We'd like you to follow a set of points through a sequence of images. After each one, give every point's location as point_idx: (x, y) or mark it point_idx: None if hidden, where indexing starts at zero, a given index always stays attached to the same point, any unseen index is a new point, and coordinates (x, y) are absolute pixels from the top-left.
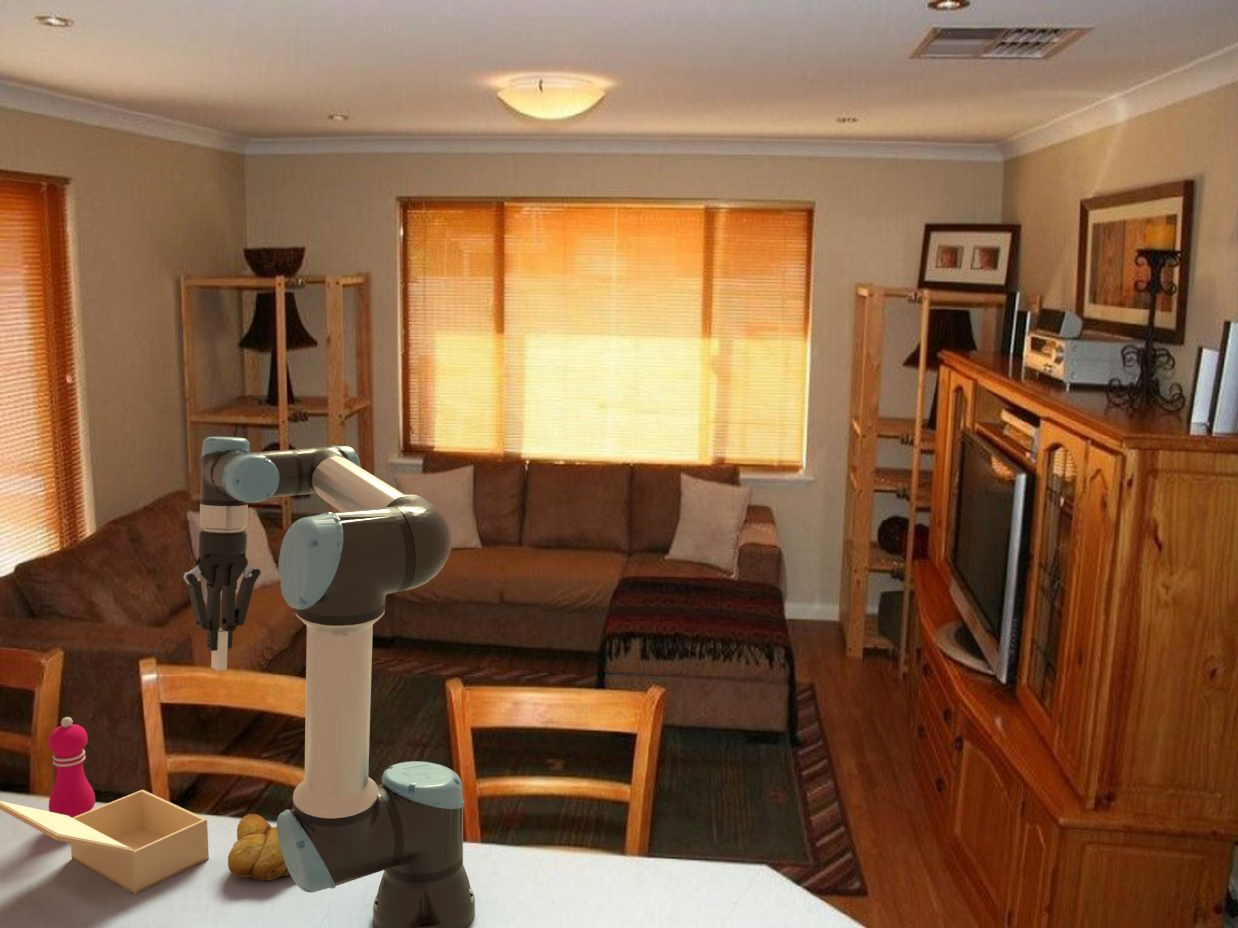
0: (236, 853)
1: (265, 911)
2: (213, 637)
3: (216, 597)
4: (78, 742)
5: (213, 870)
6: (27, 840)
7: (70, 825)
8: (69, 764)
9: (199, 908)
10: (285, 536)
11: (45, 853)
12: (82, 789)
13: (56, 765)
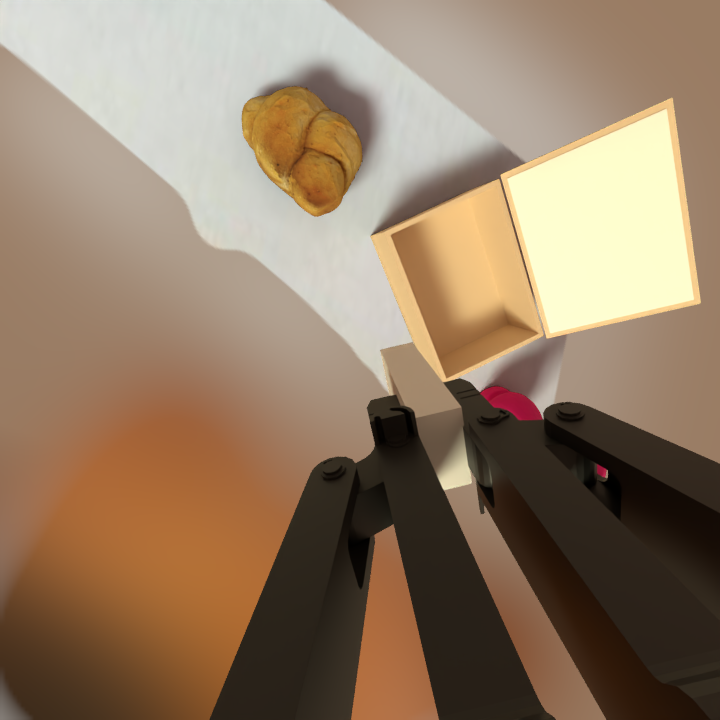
0: (355, 133)
1: (331, 31)
2: (476, 405)
3: (648, 597)
4: None
5: (371, 199)
6: (539, 394)
7: (583, 244)
8: None
9: (408, 101)
10: None
11: (530, 353)
12: (513, 413)
13: None
